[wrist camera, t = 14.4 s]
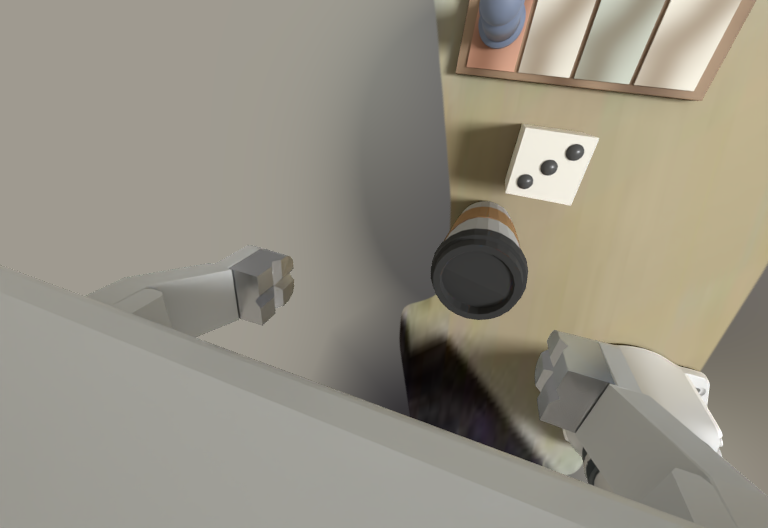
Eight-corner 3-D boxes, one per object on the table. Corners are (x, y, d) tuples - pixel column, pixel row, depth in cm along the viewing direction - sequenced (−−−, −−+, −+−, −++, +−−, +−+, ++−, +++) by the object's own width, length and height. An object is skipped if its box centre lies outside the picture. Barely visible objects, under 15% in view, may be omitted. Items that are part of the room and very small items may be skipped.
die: (583, 132, 32) (599, 138, 27) (560, 190, 35) (571, 205, 30) (522, 123, 33) (525, 127, 28) (504, 180, 36) (505, 193, 31)
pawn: (530, 32, 29) (542, 6, 21) (487, 58, 31) (483, 42, 23) (516, -16, 28) (522, -63, 20) (472, 14, 29) (462, -18, 22)
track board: (761, -23, 24) (772, -28, 23) (695, 100, 28) (703, 100, 27) (477, -33, 29) (476, -38, 28) (456, 73, 33) (455, 72, 32)
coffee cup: (498, 265, 41) (497, 339, 28) (439, 238, 42) (412, 298, 29) (534, 209, 36) (552, 266, 24) (468, 180, 37) (451, 220, 25)
